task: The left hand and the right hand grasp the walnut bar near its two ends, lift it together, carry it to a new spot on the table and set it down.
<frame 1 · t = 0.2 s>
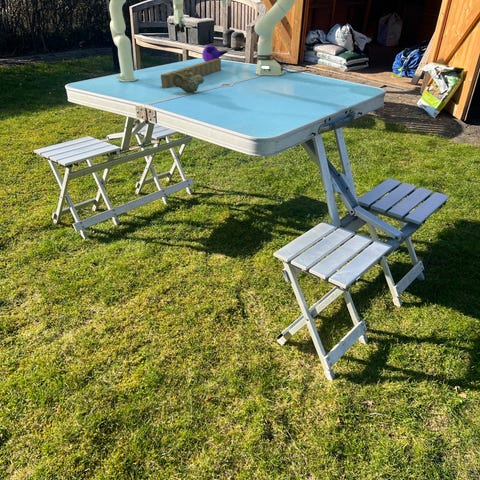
left hand: (180, 32, 344), 31 cm above the table, tool pointing down, fingers open, 9 cm apart
right hand: (226, 6, 344), 48 cm above the table, tool pointing down, fingers open, 8 cm apart
teapot: (189, 92, 302), on the table
bar: (193, 77, 347), on the table
toy: (214, 64, 397), on the table
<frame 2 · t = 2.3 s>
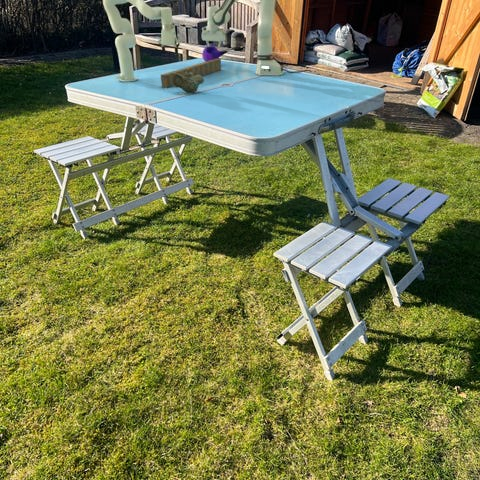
left hand: (170, 53, 319), 20 cm above the table, tool pointing down, fingers open, 9 cm apart
right hand: (213, 47, 362), 18 cm above the table, tool pointing down, fingers open, 8 cm apart
nothing on the table moved.
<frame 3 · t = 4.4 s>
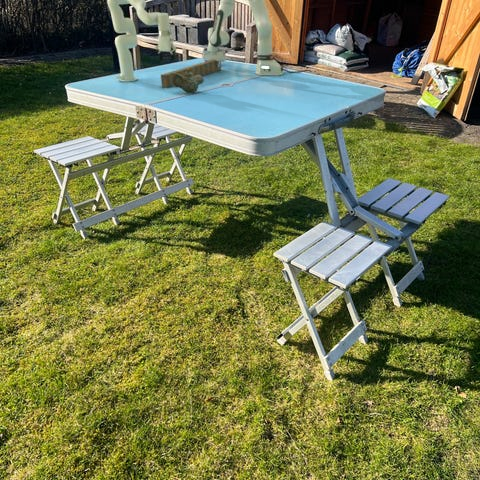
left hand: (167, 60, 313), 18 cm above the table, tool pointing down, fingers open, 9 cm apart
right hand: (214, 66, 370), 3 cm above the table, tool pointing down, fingers closed on bar, 5 cm apart
bar: (193, 77, 347), on the table, touching right hand
everything else where it was.
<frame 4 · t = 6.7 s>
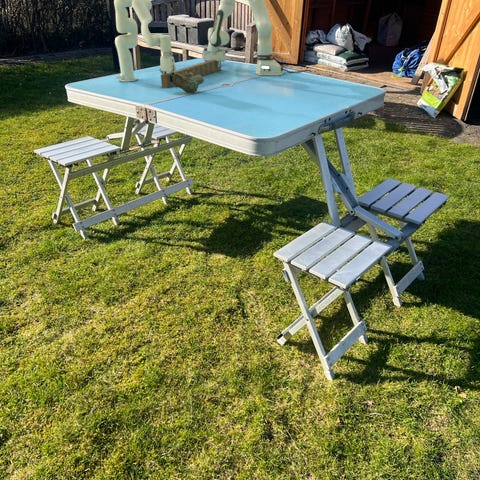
left hand: (169, 81, 321), 3 cm above the table, tool pointing down, fingers closed on bar, 4 cm apart
right hand: (214, 66, 370), 3 cm above the table, tool pointing down, fingers closed on bar, 5 cm apart
bar: (193, 77, 347), on the table, touching left hand, right hand
everything else where it was.
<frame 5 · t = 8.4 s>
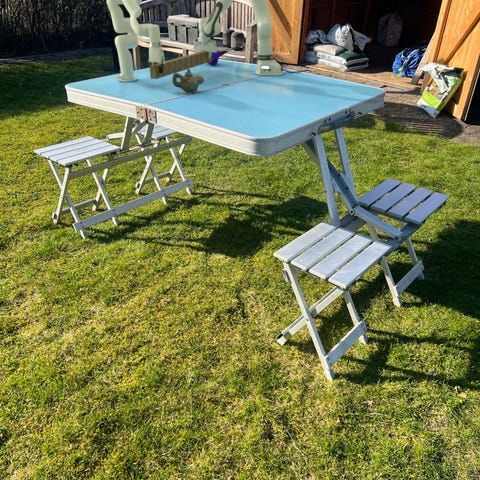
left hand: (158, 72, 316), 10 cm above the table, tool pointing down, fingers closed on bar, 4 cm apart
right hand: (205, 57, 365), 10 cm above the table, tool pointing down, fingers closed on bar, 5 cm apart
bar: (184, 69, 343), point 7 cm above the table, touching left hand, right hand
everything else where it was.
when the left hand's fingers open (5 cm above the table, at t = 10.3 s): bar drops 1 cm, on the table.
when the right hand's fingers open (5 cm above the table, at t = 10.3 s): bar drops 1 cm, on the table.
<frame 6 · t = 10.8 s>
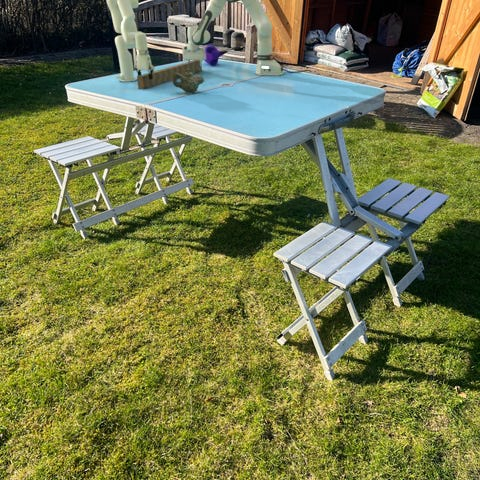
left hand: (145, 78, 317), 6 cm above the table, tool pointing down, fingers open, 9 cm apart
right hand: (195, 65, 367), 5 cm above the table, tool pointing down, fingers open, 8 cm apart
bar: (172, 79, 344), on the table
everything else where it was.
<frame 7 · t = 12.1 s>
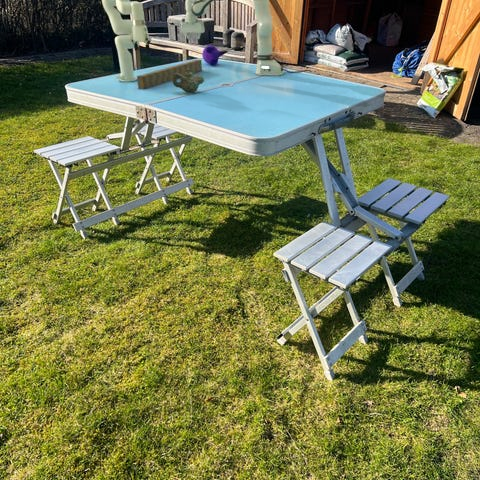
left hand: (142, 50, 307), 24 cm above the table, tool pointing down, fingers open, 9 cm apart
right hand: (193, 38, 356), 25 cm above the table, tool pointing down, fingers open, 8 cm apart
nothing on the table moved.
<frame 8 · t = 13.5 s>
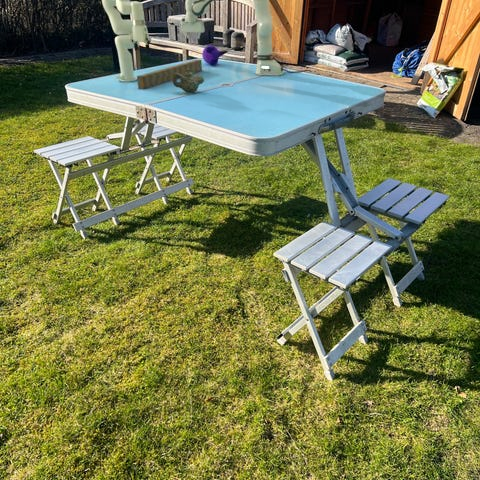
left hand: (142, 50, 307), 24 cm above the table, tool pointing down, fingers open, 9 cm apart
right hand: (193, 38, 356), 25 cm above the table, tool pointing down, fingers open, 8 cm apart
nothing on the table moved.
at the end: bar inside the target area (0.2 cm from its centre), on the table; bar tilted 0°; bar never tilted more than 2° during the clip; both hands held the bar at the same time; the left hand is holding nothing; the right hand is holding nothing; bar at rest at the end (0.0 cm/s) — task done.
